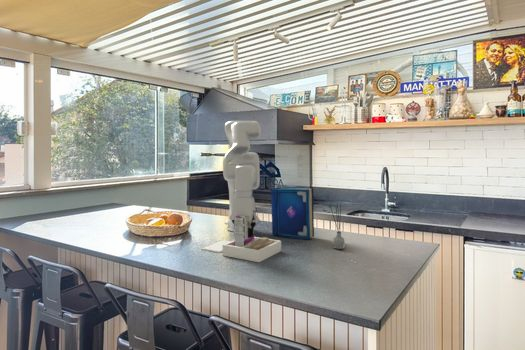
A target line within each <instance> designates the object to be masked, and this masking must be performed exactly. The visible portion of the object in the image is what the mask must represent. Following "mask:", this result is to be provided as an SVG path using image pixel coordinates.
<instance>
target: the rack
mask: <svg viewBox="0 0 525 350" xmlns="http://www.w3.org/2000/svg"><path fill="white" fill-rule="evenodd" d="M261 238H262V237H257V236H254V241H256V240H258V239H261ZM269 240H271V241H274V243H272V244H270V245H268V246H266V247H264V248H261V249H259V250H255V249H249V248H248V245H246V246H243V247H237V246H235V239H233V240H232V241H231V240H230V241H231V242H229V243H226V244H223V252H222V256H223V257H230V258H235V259H240V260H245V261H251V262H256V263H260V262H262V261H265V260H267V259H268V258H270V257H272V256H274V255H276V254H278V253H280V252H282V240H279V239H272V238H269Z"/></svg>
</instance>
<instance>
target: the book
mask: <svg viewBox="0 0 525 350" xmlns="http://www.w3.org/2000/svg"><path fill="white" fill-rule="evenodd" d="M270 199H271V201H270V202H271V204H270V205H271V231H272V232H271V233H272V236H277V237H278V236H279V237H283V238H289V239H298V240H299V239H300V240H311V239H313V238H315V226H314V224H315V223H314V222H315V221H314V220H315V219H314V216H315V215H314V189H313V187H304V186H303V187H302V186H301V187H299V186H295V187H294V186H289V187H274V188H272V189H271V190H270Z"/></svg>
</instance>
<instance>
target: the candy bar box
mask: <svg viewBox="0 0 525 350" xmlns="http://www.w3.org/2000/svg"><path fill="white" fill-rule="evenodd" d="M253 221H255V220H253ZM248 228H249V226H248V222H246V216H240V215H237V216H235V217H234V231H233V232H234V240H235V246H237V247H243V246H246V245H248V243H251V242H253V241H254V237H255V234H254V235H253V237H250V238H248Z"/></svg>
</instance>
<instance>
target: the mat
mask: <svg viewBox="0 0 525 350" xmlns="http://www.w3.org/2000/svg"><path fill="white" fill-rule="evenodd" d="M229 242H231V240H220V241H218V242H215V243H212V244H209V245H207V246H203V247H201V251H207V252H210V253H211V252H212V253H217V254H220V253H223V244H226V243H229Z"/></svg>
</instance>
